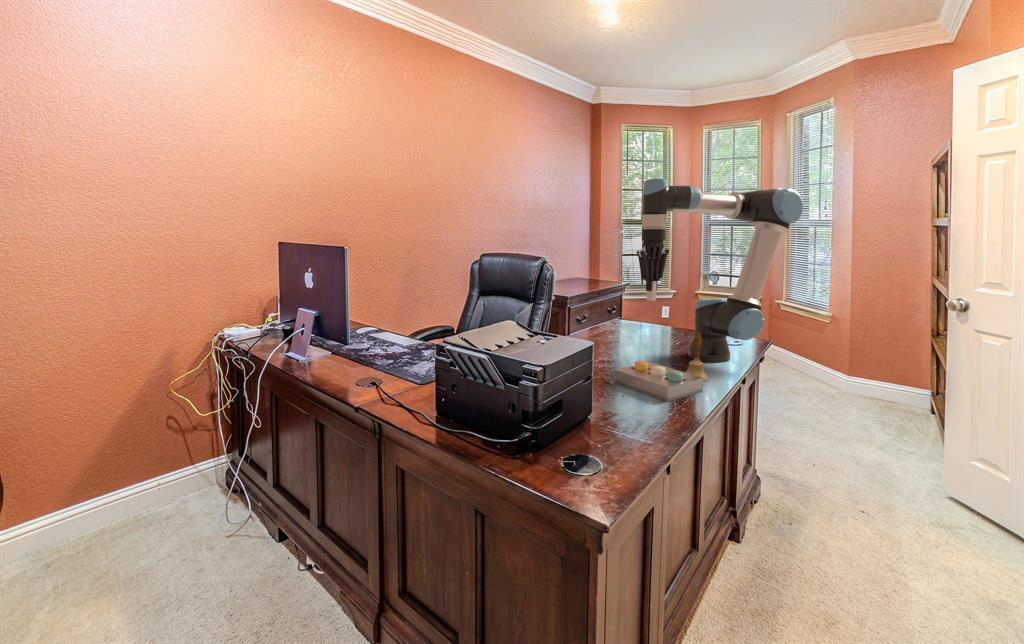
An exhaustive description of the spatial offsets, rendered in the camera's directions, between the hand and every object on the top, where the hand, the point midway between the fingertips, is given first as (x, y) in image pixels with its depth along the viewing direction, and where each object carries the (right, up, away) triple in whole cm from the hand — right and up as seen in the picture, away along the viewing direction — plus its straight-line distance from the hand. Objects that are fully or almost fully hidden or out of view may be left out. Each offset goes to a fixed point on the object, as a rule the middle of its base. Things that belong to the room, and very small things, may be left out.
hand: (651, 300), depth 169 cm
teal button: (+4, -27, -12) cm, 30 cm away
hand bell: (+16, -26, +3) cm, 31 cm away
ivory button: (0, -26, -6) cm, 27 cm away
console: (0, -28, -6) cm, 29 cm away
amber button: (-3, -25, 0) cm, 25 cm away
